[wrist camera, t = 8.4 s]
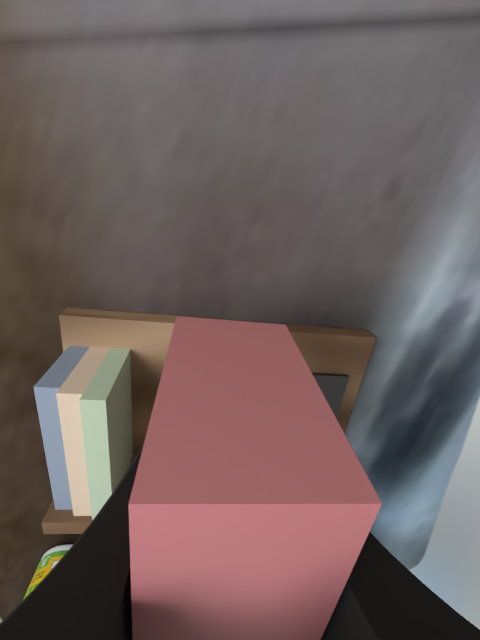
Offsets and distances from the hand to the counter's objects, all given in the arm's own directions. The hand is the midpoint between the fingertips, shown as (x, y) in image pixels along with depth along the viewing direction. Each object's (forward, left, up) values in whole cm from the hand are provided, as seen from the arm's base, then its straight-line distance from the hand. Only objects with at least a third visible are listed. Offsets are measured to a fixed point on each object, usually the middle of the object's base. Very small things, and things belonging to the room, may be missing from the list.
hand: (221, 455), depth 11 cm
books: (-6, +7, -9) cm, 13 cm away
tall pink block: (0, 0, -2) cm, 2 cm away
